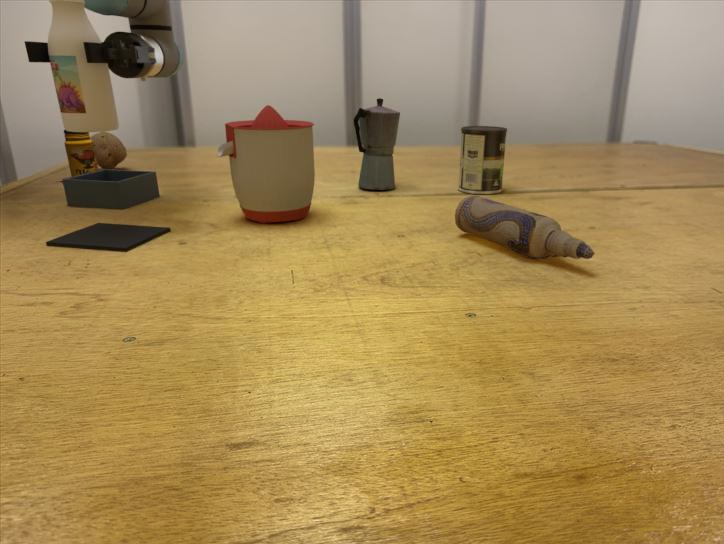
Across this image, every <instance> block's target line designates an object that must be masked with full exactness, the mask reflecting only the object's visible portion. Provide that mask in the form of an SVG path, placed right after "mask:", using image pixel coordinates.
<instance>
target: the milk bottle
mask: <svg viewBox="0 0 724 544" xmlns="http://www.w3.org/2000/svg"><path fill="white" fill-rule="evenodd" d="M48 2H49V3H50V4H51V7H52V8H51V10H52V16H51V23H50V28H49V31H48V34H47V35H48V36H47V43H48V53H49V59H50V63H49V65H50V69H51V74H52V79H53V84H54V88H55V93H56V98H57V102H58V106H59V107H58V108H59V112H60V116H61V121H62V124H63V128H64V130H66V131H70V132H89V133H100V132H111V131H116V130H118V129H119V127H120V124H119V117H118V112H117V107H116V100H115V96H114V91H113V90H114V89H113V85H112V79H111V74H110V69H109V68H108V63H87V59H86V54H85V49H84V44H83V42H93V43H102V42H103V41H102V40H101V38H100V37H99V34H98V33H97V31H96V30H95V28H94V26H93V25H92V23H91V21H90V19H89V17H88V15H87V13H86V10H85V9H86V8H85V7H84V4H85V2H84V0H48Z"/></svg>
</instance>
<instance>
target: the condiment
mask: <svg viewBox="0 0 724 544" xmlns="http://www.w3.org/2000/svg"><path fill="white" fill-rule="evenodd" d="M63 134H64V139H65V141H64V148H65V152H66V156H67V161H68V166H69V170H70V175H71V176H70V177H74V176H78V175H82V174H87V173H91V172H95V171H99V170H100V169H99V167H98V165H97V161H96V156H95V150H94V146H93V142H92V140H91V139H90V137H91V135H90V132H70V131H66V130H65V129H64V130H63ZM58 182H63V181H62V179H59V180H58Z"/></svg>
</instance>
